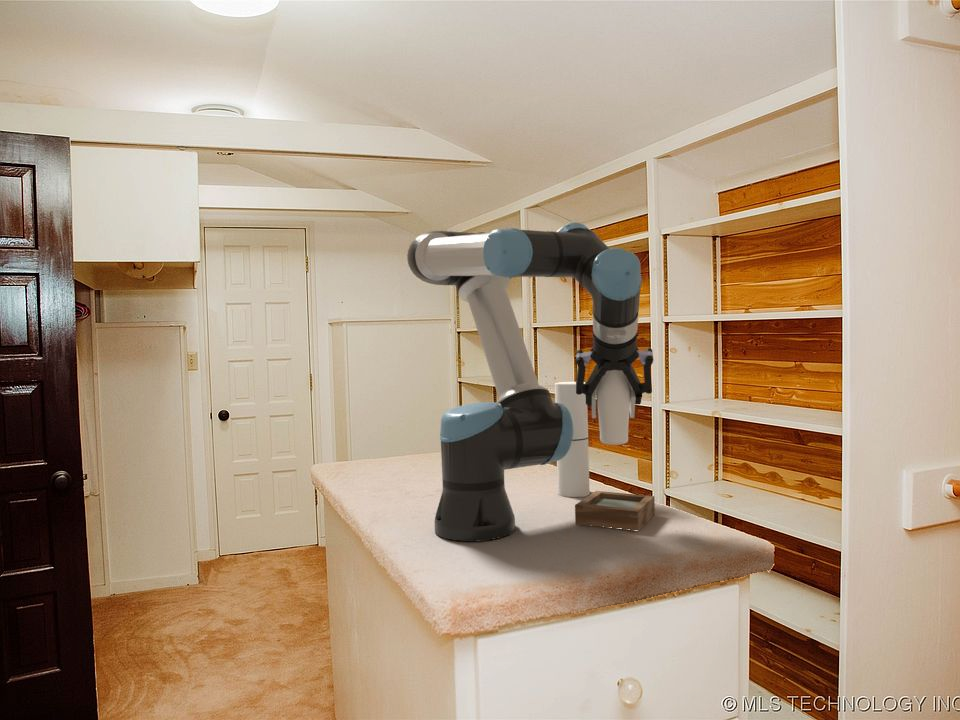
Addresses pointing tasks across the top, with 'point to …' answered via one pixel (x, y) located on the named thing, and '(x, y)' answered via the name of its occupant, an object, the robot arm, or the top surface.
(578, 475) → the cylindrical container
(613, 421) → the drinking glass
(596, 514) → the wooden tray
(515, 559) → the top surface
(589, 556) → the top surface
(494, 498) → the robot arm
